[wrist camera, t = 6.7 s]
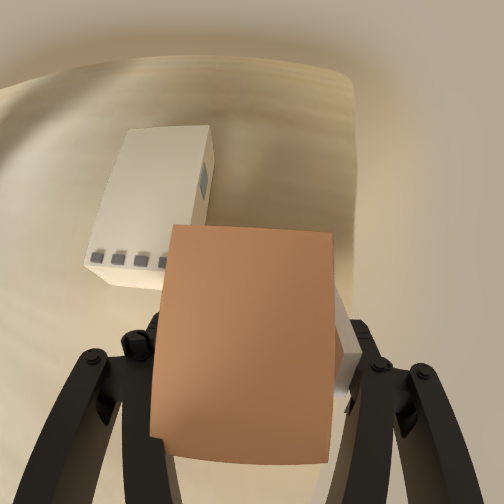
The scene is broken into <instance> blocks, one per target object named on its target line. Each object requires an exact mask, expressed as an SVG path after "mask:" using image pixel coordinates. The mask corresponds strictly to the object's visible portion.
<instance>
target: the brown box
mask: <svg viewBox="0 0 504 504" xmlns="http://www.w3.org/2000/svg"><path fill="white" fill-rule="evenodd" d="M334 372H335V283H334V258H333V240H332V232H319V231H303V230H287V229H269V228H251V227H230V226H208V225H183V224H173V228H172V234H171V239H170V245H169V251H168V256H167V262H166V269H165V275H164V282H163V288H162V295H161V303H160V310H159V319H158V327H157V336H156V345H155V356H154V367H153V380H152V394H151V413H150V437H155V438H160V439H163V443H164V447H165V451H166V454H168V455H173V456H179V457H185V458H192V459H199V460H207V461H215V462H226V463H238V464H258V465H299V464H319V463H328V458H329V449H330V438H331V426H332V412H333V395H334Z"/></svg>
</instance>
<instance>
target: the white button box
mask: <svg viewBox="0 0 504 504" xmlns="http://www.w3.org/2000/svg"><path fill="white" fill-rule="evenodd" d="M214 165H215V157H214V150H213V143H212V137H211V130H210V125H188V126H164V127H149V128H136V129H129V130H128V132H127V134H126V137H125V139H124V141H123V144H122V146H121V148H120V151H119V153H118V156H117V158H116V161H115V163H114V166H113V169H112V171H111V174H110V177H109V179H108V182H107V185H106V188H105V191H104V194H103V197H102V200H101V203H100V206H99V209H98V212H97V215H96V219H95V222H94V225H93V229H92V232H91V236H90V240H89V243H88V247H87V251H86V255H85V259H84V263H83V265H84V266H85V267H87V268H88V269H89V270H91V271H92V272H93V273H95V274H96V275H98V276H99V277H101V278H102V279H103V280H105V281H106V282H108V283H109V284H111V285H117V286H126V287H136V288H146V289H156V290H162V288H163V282H164V275H165V269H166V262H167V256H168V251H169V245H170V239H171V234H172V228H173V224H183V225H205V223H206V216H207V209H208V202H209V196H210V189H211V183H212V177H213V171H214Z"/></svg>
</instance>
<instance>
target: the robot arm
mask: <svg viewBox="0 0 504 504" xmlns="http://www.w3.org/2000/svg"><path fill="white" fill-rule="evenodd" d="M158 319H159V312H158V313H156V314H155V315H154V316H153V318H152V320H151V322H150V323H149V325H148V328H147V329H146V331H144V330H134V331H130V332H128V333H126V334H125V335H124V336H123V337H122V339H121V343H122V347H123V351H124V354H125V356H119V357H108V356H107V354H106V352H105V351H104V350H101V349H98V348H93V349H89V350H87V351H85V352H83V353H82V355H81V356H80V357H79V359H78V361H77V363H76V364H75V366H74V368H73V370H72V372H71V373H70V375H69V377H68V379H67V381H66V383H65V384H64V386H63V388H62V390H61V392H60V394H59V396H58V398H57V400H56V402H55V404H54V406H53V408H52V410H51V412H50V414H49V416H48V418H47V420H46V422H45V424H44V427H43V429H42V431H41V433H40V435H39V438H38V440H37V442H36V444H35V447H34V449H33V451H32V454H31V456H30V458H29V461H28V463H27V466H26V468H25V471H24V473H23V476H22V479H21V481H20V484H19V487H18V490H17V493H16V495H15V498H14V501H13V504H92V501H93V497H94V493H95V489H96V485H97V481H98V477H99V474H100V470H101V466H102V463H103V459H104V456H105V453H106V449H107V446H108V443H109V439H110V436H111V433H112V430H113V426H114V423H115V420H116V417H117V414H118V411H119V408H120V405H121V402H122V457H123V478H124V492H125V503H126V504H182V500H181V495H180V490H179V485H178V480H177V474H176V469H175V463H174V457H173V455H168V454H166V451H165V447H164V443H163V439H160V438H155V437H150V413H151V394H152V380H153V367H154V356H155V345H156V336H157V327H158ZM348 390H350V394H351V398H350V401H349V403H348V405H347V407H346V410H345V412H344V413H347V414H346V420H345V425H344V430H343V435H342V440H341V445H340V449H339V454H338V458H337V462H336V467H335V471H334V475H333V479H332V482H331V486H330V490H329V494H328V497H327V500H326V504H386V499H387V492H388V484H389V476H390V467H391V456H392V442H393V428H394V432H395V436H396V441H397V445H398V450H399V455H400V459H401V464H402V469H403V474H404V480H405V485H406V491H407V498H408V504H484V503H483V498H482V495H481V491H480V487H479V484H478V480H477V477H476V473H475V470H474V467H473V464H472V461H471V458H470V455H469V452H468V449H467V446H466V444H465V441H464V438H463V435H462V433H461V430H460V427H459V425H458V422H457V420H456V417H455V415H454V412H453V410H452V407H451V405H450V403H449V400H448V398H447V396H446V393H445V391H444V389H443V387H442V384H441V382H440V380H439V378H438V376H437V373H436V372H435V371H434V369H433V368H432V367H430V366H429V365H427V364H424V363H417V364H414V365H413V366H412V367H411V369H410V371H408V370H402V369H397V368H393V365H392V363H391V362H390V361H389V360H387V359H386V358H384V357H381V355H380V353H379V350H378V348H377V346H376V344H375V342H374V339H373V337H372V335H371V334H370V331H369V329H368V326H367V325H366V324H365V323H364V322H363V321H362V320H349V317H348V315H347V313H346V310H345V308H344V305H343V303H342V301H341V298H340V296H339V294H338V291H337V289H336V287H335V372H334V395H333V397H346V395H347V392H348Z"/></svg>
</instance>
